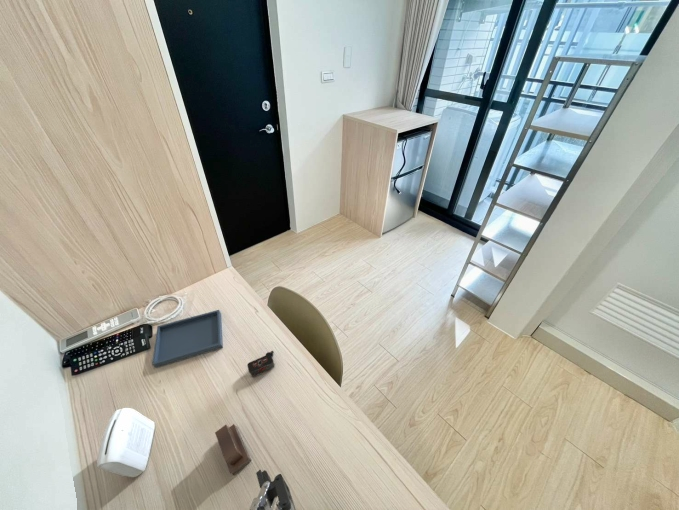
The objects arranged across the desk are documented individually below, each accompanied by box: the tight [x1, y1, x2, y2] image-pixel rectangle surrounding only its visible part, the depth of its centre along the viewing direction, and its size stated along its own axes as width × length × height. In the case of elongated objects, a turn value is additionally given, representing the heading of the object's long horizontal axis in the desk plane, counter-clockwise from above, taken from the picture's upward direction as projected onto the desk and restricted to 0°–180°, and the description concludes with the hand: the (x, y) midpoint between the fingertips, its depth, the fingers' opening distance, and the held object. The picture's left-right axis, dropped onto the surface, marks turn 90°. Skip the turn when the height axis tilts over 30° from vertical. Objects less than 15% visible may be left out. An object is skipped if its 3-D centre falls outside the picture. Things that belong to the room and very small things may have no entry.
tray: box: [151, 309, 224, 369], centre depth 78 cm, size 17×12×2 cm
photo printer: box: [96, 407, 156, 478], centre depth 55 cm, size 10×4×12 cm, turn 15°
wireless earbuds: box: [246, 350, 276, 378], centre depth 72 cm, size 5×7×3 cm, turn 117°
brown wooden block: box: [214, 423, 252, 476], centre depth 57 cm, size 8×4×7 cm, turn 38°
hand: (234, 498), depth 40 cm, fingers open, 8 cm apart
